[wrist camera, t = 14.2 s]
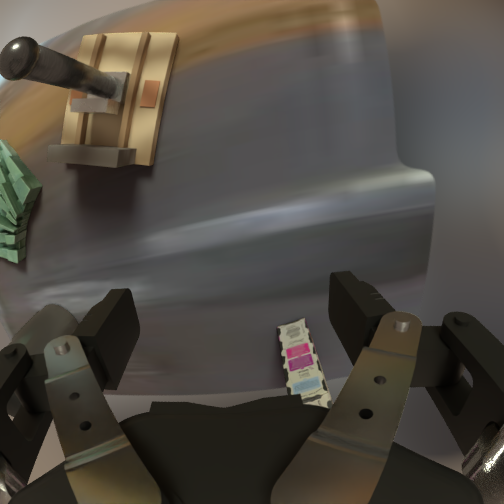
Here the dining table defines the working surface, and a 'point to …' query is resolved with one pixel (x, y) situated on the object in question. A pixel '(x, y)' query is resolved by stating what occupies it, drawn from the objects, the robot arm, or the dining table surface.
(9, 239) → the money
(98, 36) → the press bench
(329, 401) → the candy bar box
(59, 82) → the handle
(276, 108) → the dining table surface
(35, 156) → the dining table surface
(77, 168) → the dining table surface
